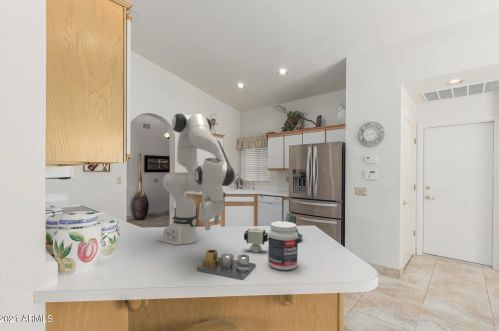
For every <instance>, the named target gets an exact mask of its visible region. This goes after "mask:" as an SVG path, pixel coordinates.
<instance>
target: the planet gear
mask: <svg viewBox="0 0 499 331" xmlns="http://www.w3.org/2000/svg"><path fill="white" fill-rule="evenodd" d="M218 253H219V252H218V250H216V249H212V248H211V249H207V250H206V251H205V257H203V260H202V264H206V266H215V265H217V264H218V265H219V264H220V258H221V257H220V258H217V257H219V256H218Z"/></svg>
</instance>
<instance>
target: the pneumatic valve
mask: <svg viewBox="0 0 499 331" xmlns="http://www.w3.org/2000/svg"><path fill="white" fill-rule="evenodd" d="M268 238H269V232H266V229H259V228H258V227H257V228H256V227H255V228H248V229H247V230H245V231H244V234H243V240H244V241H246V244H251V245H250V248H249V249H250V252H251V253H256V254H258V253H260V252H261V251H262V246H261V245H265V243H267V242H269V240H268Z"/></svg>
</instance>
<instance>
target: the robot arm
mask: <svg viewBox="0 0 499 331" xmlns="http://www.w3.org/2000/svg"><path fill="white" fill-rule="evenodd" d="M171 120H172V121H171V126H172V127H171V128H172V130H173V131H174V132H176V133H178V134H179V136H178V140H177V151H176V153H177V154H176V159H177V160H176V161H177V163H178V164H179V165H180V166H182V167H184V168H185V169H187V172H174V171H173V172H170V173H166V174H165V175H164V177H163V178H162V186H163V188H164V189H165V191H167V192H168V193H169V194H170V195H171V196H172V197H173V198H172V199H173V200H174V202H175V215H174V216H171V220H172V223H170V224H169V225H167V226H166V227H165V228H164V230H163V232H162V235H161V236H160V237H159V238H158V241H159V242H163V243H166V244H170V245H173V246H174V245H175V246H178V245H187V244H188V245H189V244H194V243H196V242H197V241H199V238H198V233H197V214H196V213H197V203H196V201H195V200H194V199H193V198H191V197H188V196H187V195H186V192H187V193H188V192H193V193H195V192H202V193H201V194H202V195H201V197H202V198H201V199H202V201H201V202H200V204H199V209H198V220H199V222H203V224H204V225H203V226H204V230H205V231H209V230H211V225H210V220H212V219H214V220H213V225H215V226H217V225H219V221H220V217H221V214H222V213H224V210H225V202H226V201H225V198H226V196H227V193H226V192H225V191H224V187H229V186H230V185H231V184H232V183H233V182H234V180H235V178H236V177H235V176H236V175H235V170H234V168H233V167H232V165H231V164H230V161H229V159H228V157H227V155H226V152H225V150H224V148H223V145H222V144H221V142H220V141H219V140H218V139H217V138H216V137H215V136H214V135H213V133H212V132H211V131H212V130H211V129H212V121H211V119H209V118H208V117H206V116H205V115H204V114H201V113H195V114H189V113H187V114H183V113H176V114H174V116H173V117H172V119H171ZM198 149H199V150H201V151H205V152H207V153H210V154H212V155H213V156H214V157H215V158H214V157H208V158H207V157H206V158H205V159H204V160H203V164H201V165H199V163H198V154H197V153H198Z"/></svg>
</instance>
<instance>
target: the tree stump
mask: <svg viewBox="0 0 499 331" xmlns="http://www.w3.org/2000/svg"><path fill="white" fill-rule="evenodd" d="M284 222H291V223H294V224H296V225H297V216H296V215H293V214H290V213H286V217H285V220H284ZM296 232H297V233H298V241H300V240H301V239H302V238H303V236H304V235H303V234H301V233H299V230H298V228H297V229H296ZM268 241H269V237H268Z"/></svg>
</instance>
